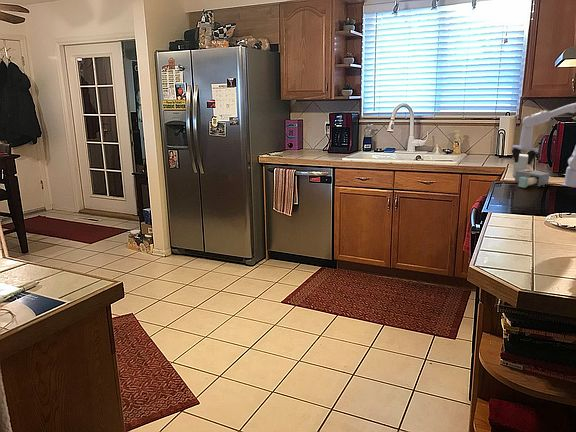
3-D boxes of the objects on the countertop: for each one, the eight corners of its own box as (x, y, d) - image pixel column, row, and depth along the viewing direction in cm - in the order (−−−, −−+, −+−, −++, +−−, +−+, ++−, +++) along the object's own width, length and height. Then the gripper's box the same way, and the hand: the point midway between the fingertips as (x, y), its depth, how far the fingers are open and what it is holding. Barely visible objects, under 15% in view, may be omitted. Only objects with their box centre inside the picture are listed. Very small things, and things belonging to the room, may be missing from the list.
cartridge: (531, 183, 261) (532, 174, 260) (537, 184, 258) (539, 175, 257) (517, 186, 255) (519, 177, 253) (524, 187, 252) (525, 178, 250)
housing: (524, 179, 273) (525, 169, 271) (547, 184, 261) (549, 173, 260) (514, 181, 268) (516, 170, 266) (538, 186, 257) (540, 175, 255)
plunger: (525, 176, 269) (526, 169, 267) (531, 177, 266) (532, 170, 265) (522, 177, 267) (523, 170, 266) (527, 178, 264) (528, 171, 263)
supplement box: (529, 176, 281) (532, 154, 277) (525, 178, 276) (528, 156, 272) (516, 174, 286) (519, 153, 282) (511, 176, 280) (514, 155, 277)
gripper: (509, 137, 264) (506, 162, 268) (534, 141, 252) (530, 166, 257) (517, 136, 268) (513, 160, 272) (542, 139, 256) (538, 164, 260)
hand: (522, 163), depth 264 cm, fingers open, 7 cm apart
